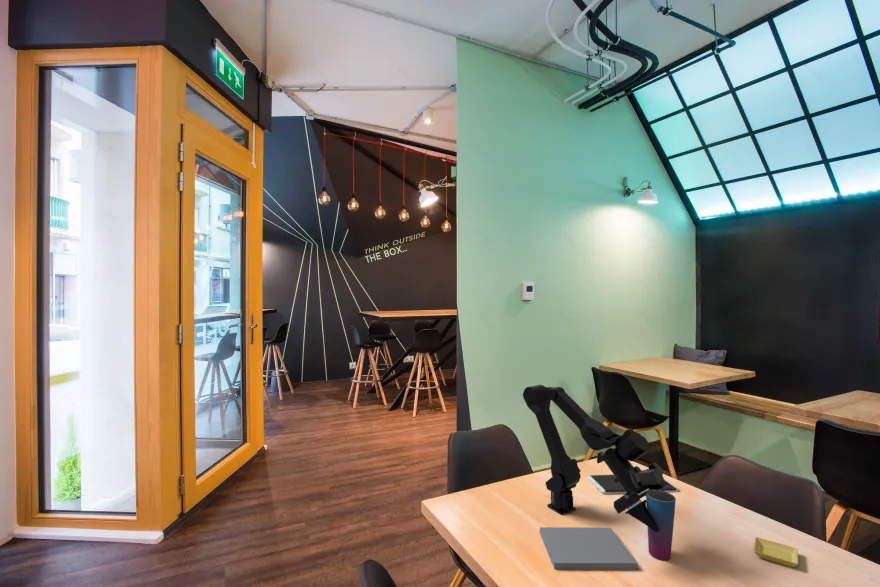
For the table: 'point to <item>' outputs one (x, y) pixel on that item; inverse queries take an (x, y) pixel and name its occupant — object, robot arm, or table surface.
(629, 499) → the robot arm
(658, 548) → the cup
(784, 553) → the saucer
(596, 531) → the board
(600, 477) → the black tablet
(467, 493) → the table surface
